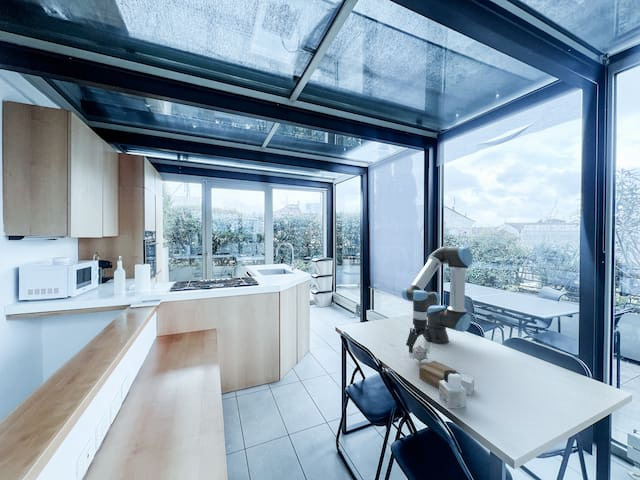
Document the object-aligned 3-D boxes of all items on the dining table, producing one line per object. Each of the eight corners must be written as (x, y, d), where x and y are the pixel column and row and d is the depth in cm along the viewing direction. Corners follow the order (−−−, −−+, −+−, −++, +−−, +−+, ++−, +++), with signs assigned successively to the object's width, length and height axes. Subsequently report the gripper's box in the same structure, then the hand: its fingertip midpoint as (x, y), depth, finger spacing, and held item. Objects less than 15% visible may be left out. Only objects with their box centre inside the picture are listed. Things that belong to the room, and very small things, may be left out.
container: (438, 397, 115) (438, 368, 115) (455, 396, 116) (455, 367, 116) (448, 409, 108) (448, 377, 107) (466, 408, 108) (466, 376, 108)
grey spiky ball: (429, 366, 143) (429, 348, 143) (413, 365, 145) (413, 347, 145) (426, 359, 152) (426, 342, 152) (410, 357, 153) (410, 341, 153)
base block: (434, 372, 137) (434, 360, 137) (456, 382, 127) (456, 370, 127) (419, 378, 131) (419, 366, 131) (441, 390, 121) (441, 377, 121)
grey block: (459, 385, 125) (459, 373, 125) (474, 390, 121) (474, 377, 120) (456, 391, 120) (456, 378, 120) (470, 396, 116) (470, 383, 116)
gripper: (427, 313, 158) (427, 348, 158) (399, 319, 145) (399, 357, 144) (439, 316, 151) (438, 353, 151) (410, 323, 138) (410, 363, 138)
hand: (419, 355), depth 148 cm, fingers open, 13 cm apart
